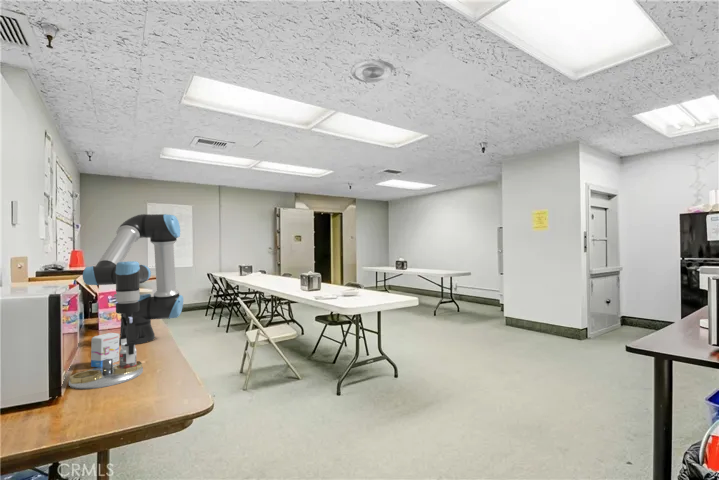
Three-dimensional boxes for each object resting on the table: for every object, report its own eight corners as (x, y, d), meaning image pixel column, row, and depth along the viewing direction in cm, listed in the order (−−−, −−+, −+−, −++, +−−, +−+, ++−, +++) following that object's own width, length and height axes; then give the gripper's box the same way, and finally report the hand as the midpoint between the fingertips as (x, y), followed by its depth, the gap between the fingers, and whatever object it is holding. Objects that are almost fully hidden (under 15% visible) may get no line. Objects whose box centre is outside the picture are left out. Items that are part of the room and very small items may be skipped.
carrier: (98, 367, 138) (98, 351, 138) (154, 365, 139) (154, 350, 139) (51, 390, 116) (51, 371, 116) (118, 388, 117) (118, 369, 117)
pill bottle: (116, 371, 129) (116, 345, 130) (125, 366, 135) (125, 341, 135) (130, 371, 130) (131, 345, 130) (139, 366, 135) (139, 341, 135)
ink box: (100, 367, 137) (100, 337, 138) (90, 367, 138) (90, 337, 139) (119, 360, 146) (119, 332, 146) (109, 360, 147) (109, 332, 147)
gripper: (111, 299, 139) (111, 354, 139) (120, 306, 121) (120, 369, 121) (133, 297, 144) (133, 350, 144) (145, 304, 126) (145, 364, 126)
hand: (127, 359), depth 132 cm, fingers open, 11 cm apart
